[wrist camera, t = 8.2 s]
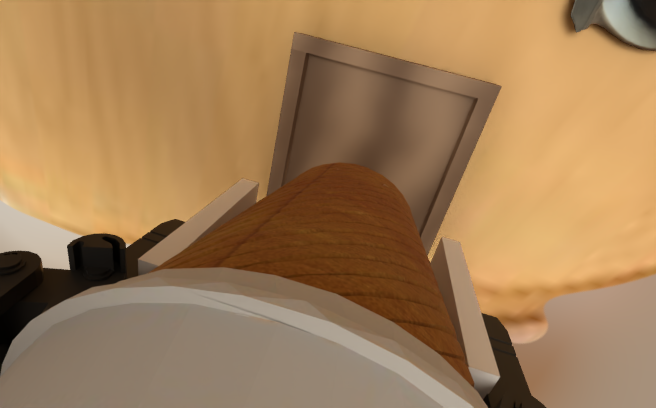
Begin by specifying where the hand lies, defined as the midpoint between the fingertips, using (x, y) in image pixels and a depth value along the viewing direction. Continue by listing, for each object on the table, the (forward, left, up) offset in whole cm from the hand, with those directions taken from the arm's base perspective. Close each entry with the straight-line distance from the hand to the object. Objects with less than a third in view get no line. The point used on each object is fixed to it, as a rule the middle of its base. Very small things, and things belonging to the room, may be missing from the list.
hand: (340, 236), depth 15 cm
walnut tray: (0, -1, -17) cm, 17 cm away
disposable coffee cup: (0, 0, -1) cm, 1 cm away
